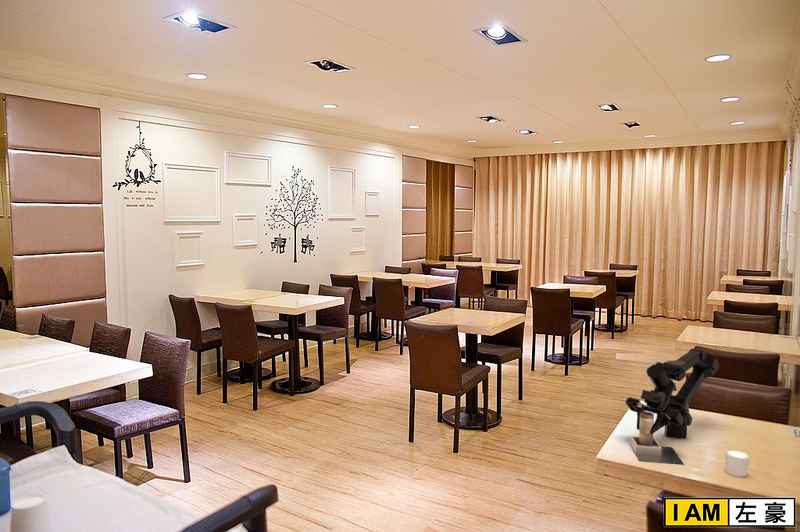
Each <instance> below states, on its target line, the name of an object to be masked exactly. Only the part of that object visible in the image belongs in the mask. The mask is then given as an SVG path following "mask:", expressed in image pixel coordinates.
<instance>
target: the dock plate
mask: <svg viewBox="0 0 800 532" xmlns="http://www.w3.org/2000/svg"><path fill="white" fill-rule="evenodd" d="M629 441H630V442H629V446H630V447H631V449H632V451H633V452H634V455H635V457H636V458H637V460H638V462H640V463H650V464H651V463H654V464H664V465H665V464H667V465H677V466H678V465H679V466H680V465H681V466H685V463H684V461H683V460H682V459H681V458H680V456H679V455H678V454H677V452H676V451H675V449H674V448H673V446H662V445H661V444H660V443H659V441H658V440H657V438H656V437H653V446H645V445H639V436H635V435H634V436H632V435H630V440H629Z"/></svg>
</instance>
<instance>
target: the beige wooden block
mask: <svg viewBox="0 0 800 532" xmlns="http://www.w3.org/2000/svg"><path fill="white" fill-rule="evenodd" d="M654 420H655V413H652V412H648V411H646V412H640V425H639V430H638V432H639V433H638V437H639V445H645V446H653V438H654V433H653V434H650V431H651V428H652V426H653V424H654V422H655V421H654Z"/></svg>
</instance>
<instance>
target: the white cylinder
mask: <svg viewBox="0 0 800 532" xmlns="http://www.w3.org/2000/svg"><path fill="white" fill-rule="evenodd" d="M724 459H725V462H724V464H725V471H726V472H727V474H728V475H732V476H735V477H742V478H743V477H747V475H748V473H749V472H748V471H749V465H750V460H751V456H750V454H748V453H747V452H744V451H741V450H738V449H737V450H736V449H728V450H727V449H726V450H725V451H724Z"/></svg>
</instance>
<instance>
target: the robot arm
mask: <svg viewBox="0 0 800 532" xmlns="http://www.w3.org/2000/svg"><path fill="white" fill-rule="evenodd" d="M719 367H720V362H719V360H718V359H717V358H715V357H714V356H712V355H710V354H709V353H707V351H706V350H703V349H698V348H694V347H693V348H690V350H688V352H687V353H685V354H683V355H682V356H680V357H679V358H677V359H675V360H667V361H664V362H659V361H656V363H655V364H652V365H650V366H649V367H647V369H646V375H647V377H648V378H649V380H650V381H651V382H652V385H654V389H651V390H650V391H649V390H646V389H643V390H642V392H641V395H640V399H641V400H643V401H644V403H645V404H644V403H642V402H641V400H640V399H638V398H634V397H632V396H628V397H627V398H626V399H625V402H624V403H625V404H626V405H627V407H628V408H629V410H630V411H632V412H634V413H636V416H637V417H636V429H637V430H638V431H639V425H640V412H650V413H652V414H654V415H656V418H655V419H654V420H655V421H654V424H653V426H652V428H651V431H650V434H653V435H654V434H655V433H656V432H657V431H659V430H660V429H662V428H663V427H664V435H665V437H666V438H673V439H674V438H675V439H687V437H688V436H687V431H688V426H689V427H690V426H691V424H692V423H693V417H692V415H691V413H690V408H689V404H690V402H691V401H692V400H693V398H694V396H695V395H696V393H697V392H698V390H699V388H700V387H701V385H702V384H703V382H704V381H705V379H707V378H710V377H712V376H714V374H716V372H717V371H718V370H719ZM691 368H692V370H691V372H690V374H689V375H688V377H687V378H686V380H685V381H684V383H683V385H682V386H681V388H679V390H678V392H677V393H676V395H673V393H674V391H675V392H676V391H677V386H676V383H675V382H674V381H677V382H681V381H682V380H683V379H684V378H685V377H686V376H687V371H688V370H690V369H691Z"/></svg>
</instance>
